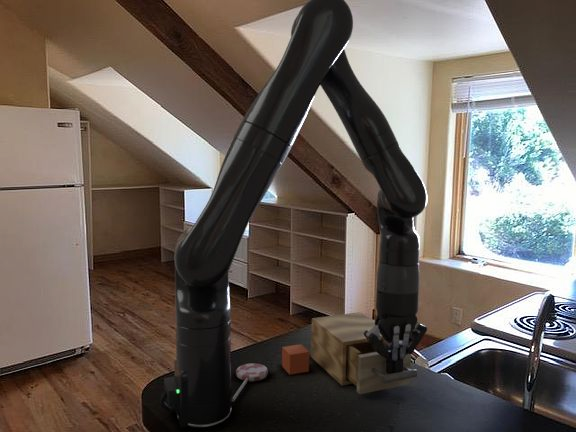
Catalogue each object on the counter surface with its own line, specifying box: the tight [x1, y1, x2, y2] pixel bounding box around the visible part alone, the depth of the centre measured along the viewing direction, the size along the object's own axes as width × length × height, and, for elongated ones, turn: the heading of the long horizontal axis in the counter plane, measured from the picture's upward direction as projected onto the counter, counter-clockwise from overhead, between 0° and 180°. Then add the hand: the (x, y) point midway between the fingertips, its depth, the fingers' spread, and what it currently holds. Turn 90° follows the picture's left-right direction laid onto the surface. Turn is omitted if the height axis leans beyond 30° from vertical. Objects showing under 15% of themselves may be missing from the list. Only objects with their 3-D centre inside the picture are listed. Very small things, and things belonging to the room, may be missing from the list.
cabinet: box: [310, 311, 383, 386], centre depth 103 cm, size 15×13×9 cm
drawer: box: [346, 340, 418, 395], centre depth 95 cm, size 18×11×7 cm, turn 22°
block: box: [281, 343, 310, 376], centre depth 102 cm, size 4×4×4 cm
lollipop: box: [231, 363, 269, 402], centre depth 95 cm, size 7×1×15 cm
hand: (394, 376), depth 89 cm, fingers closed
